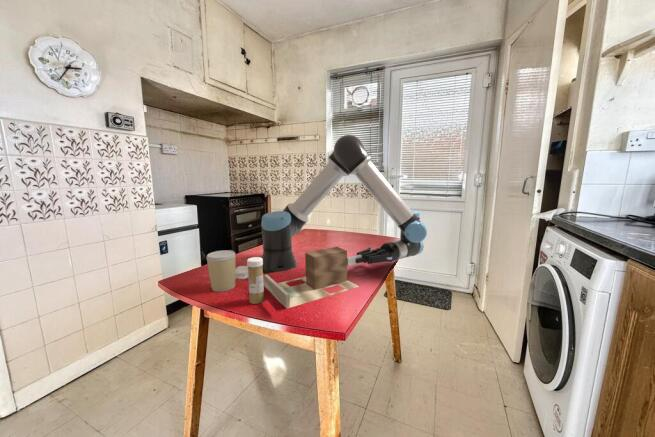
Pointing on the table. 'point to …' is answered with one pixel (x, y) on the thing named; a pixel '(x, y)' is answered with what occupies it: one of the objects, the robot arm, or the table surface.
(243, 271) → the soap
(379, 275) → the table surface
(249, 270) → the sprinkles bottle
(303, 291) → the board
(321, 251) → the block
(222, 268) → the coffee cup
